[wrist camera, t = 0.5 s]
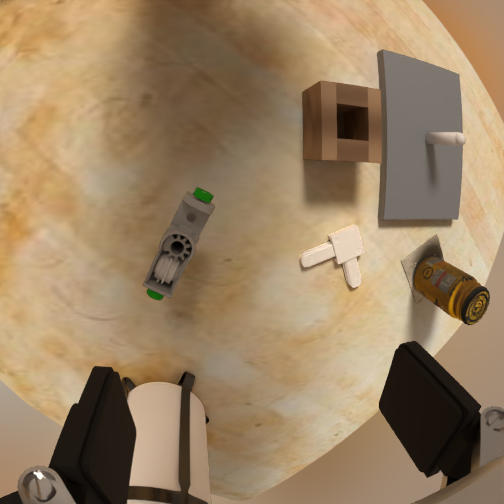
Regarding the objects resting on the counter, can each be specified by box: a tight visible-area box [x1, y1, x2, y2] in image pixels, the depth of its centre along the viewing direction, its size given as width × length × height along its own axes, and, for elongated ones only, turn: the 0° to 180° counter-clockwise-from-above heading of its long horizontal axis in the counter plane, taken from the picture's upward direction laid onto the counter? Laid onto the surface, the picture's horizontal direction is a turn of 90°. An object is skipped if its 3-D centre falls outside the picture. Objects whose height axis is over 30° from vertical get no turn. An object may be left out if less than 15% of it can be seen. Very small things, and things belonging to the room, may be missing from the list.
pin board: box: [377, 50, 466, 220], centre depth 31 cm, size 22×14×8 cm, turn 1°
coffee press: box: [121, 371, 212, 504], centre depth 27 cm, size 17×16×30 cm
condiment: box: [401, 234, 490, 325], centre depth 36 cm, size 7×8×12 cm
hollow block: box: [302, 81, 382, 163], centre depth 31 cm, size 8×7×6 cm
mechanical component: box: [143, 187, 215, 300], centre depth 30 cm, size 3×10×10 cm, turn 151°
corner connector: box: [300, 225, 364, 288], centre depth 38 cm, size 8×8×2 cm
